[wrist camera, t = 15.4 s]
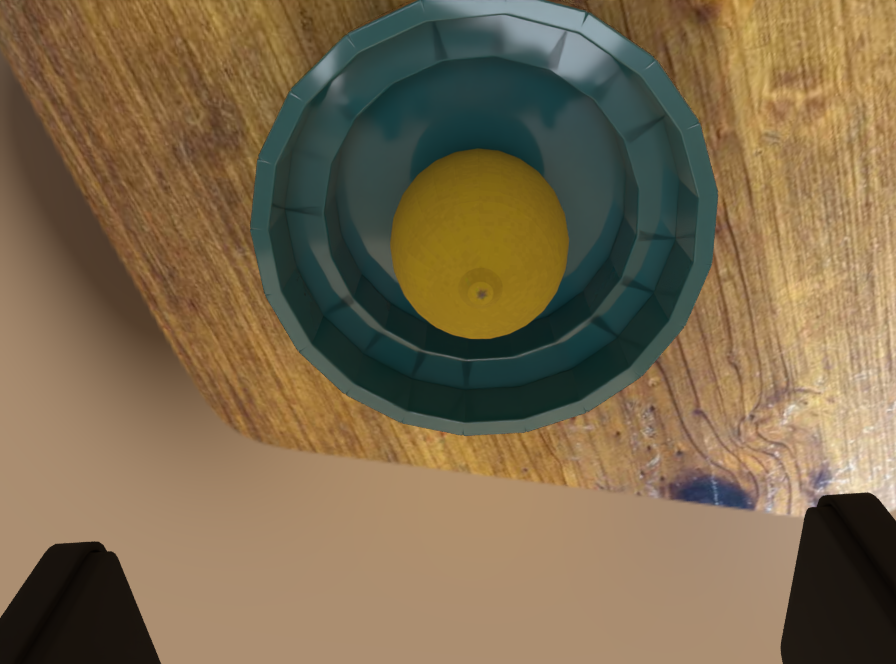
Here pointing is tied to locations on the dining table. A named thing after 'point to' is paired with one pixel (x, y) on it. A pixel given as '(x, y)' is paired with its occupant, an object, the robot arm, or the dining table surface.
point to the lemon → (479, 243)
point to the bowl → (494, 128)
